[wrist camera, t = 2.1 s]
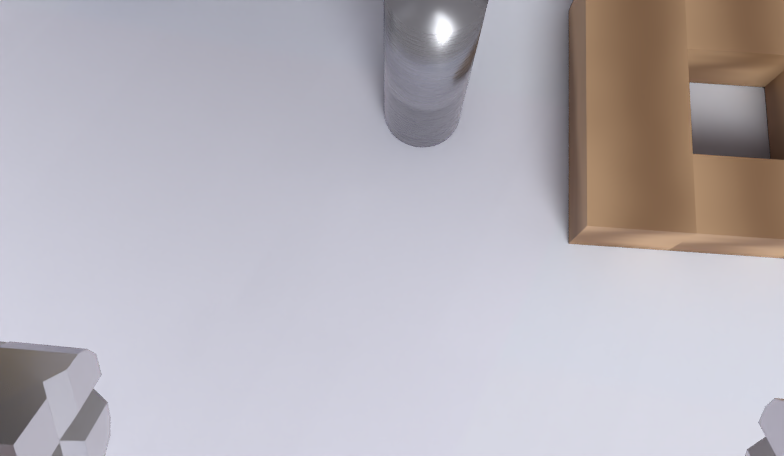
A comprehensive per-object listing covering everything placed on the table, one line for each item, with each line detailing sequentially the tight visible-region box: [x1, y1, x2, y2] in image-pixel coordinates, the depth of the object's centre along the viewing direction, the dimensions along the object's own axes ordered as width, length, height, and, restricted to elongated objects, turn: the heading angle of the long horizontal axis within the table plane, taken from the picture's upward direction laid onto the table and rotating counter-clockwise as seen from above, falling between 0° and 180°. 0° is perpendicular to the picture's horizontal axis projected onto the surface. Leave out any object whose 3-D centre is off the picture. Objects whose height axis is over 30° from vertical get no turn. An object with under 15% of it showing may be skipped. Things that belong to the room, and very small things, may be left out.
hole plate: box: [569, 0, 784, 258], centre depth 31 cm, size 14×12×3 cm
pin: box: [384, 0, 488, 147], centre depth 28 cm, size 4×4×10 cm
